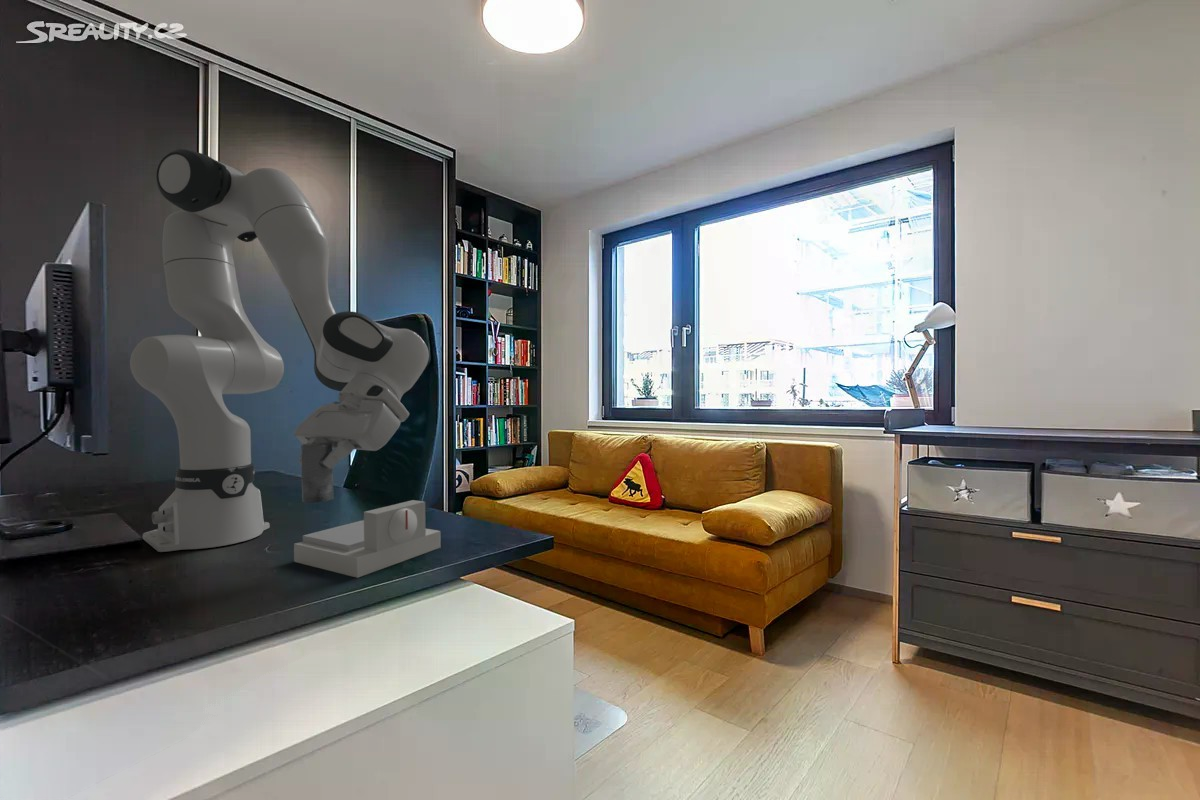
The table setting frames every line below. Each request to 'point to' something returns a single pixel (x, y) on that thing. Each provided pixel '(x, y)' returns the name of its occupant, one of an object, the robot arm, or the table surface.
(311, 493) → the cylinder
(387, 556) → the kitchen scale
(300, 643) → the table surface
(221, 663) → the table surface
